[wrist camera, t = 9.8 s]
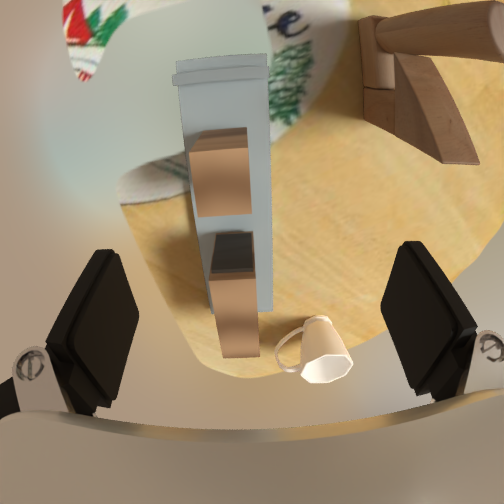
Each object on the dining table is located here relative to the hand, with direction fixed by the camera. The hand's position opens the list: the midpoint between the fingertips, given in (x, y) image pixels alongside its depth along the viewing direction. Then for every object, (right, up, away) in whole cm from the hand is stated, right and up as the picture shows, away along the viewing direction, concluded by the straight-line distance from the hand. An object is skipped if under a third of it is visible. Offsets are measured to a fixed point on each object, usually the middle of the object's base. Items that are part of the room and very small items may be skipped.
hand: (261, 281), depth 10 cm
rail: (-2, +6, +22) cm, 23 cm away
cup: (+8, -10, +33) cm, 35 cm away
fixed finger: (-2, -1, +25) cm, 25 cm away
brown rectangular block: (-3, +10, +18) cm, 21 cm away
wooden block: (+12, +19, +14) cm, 26 cm away
